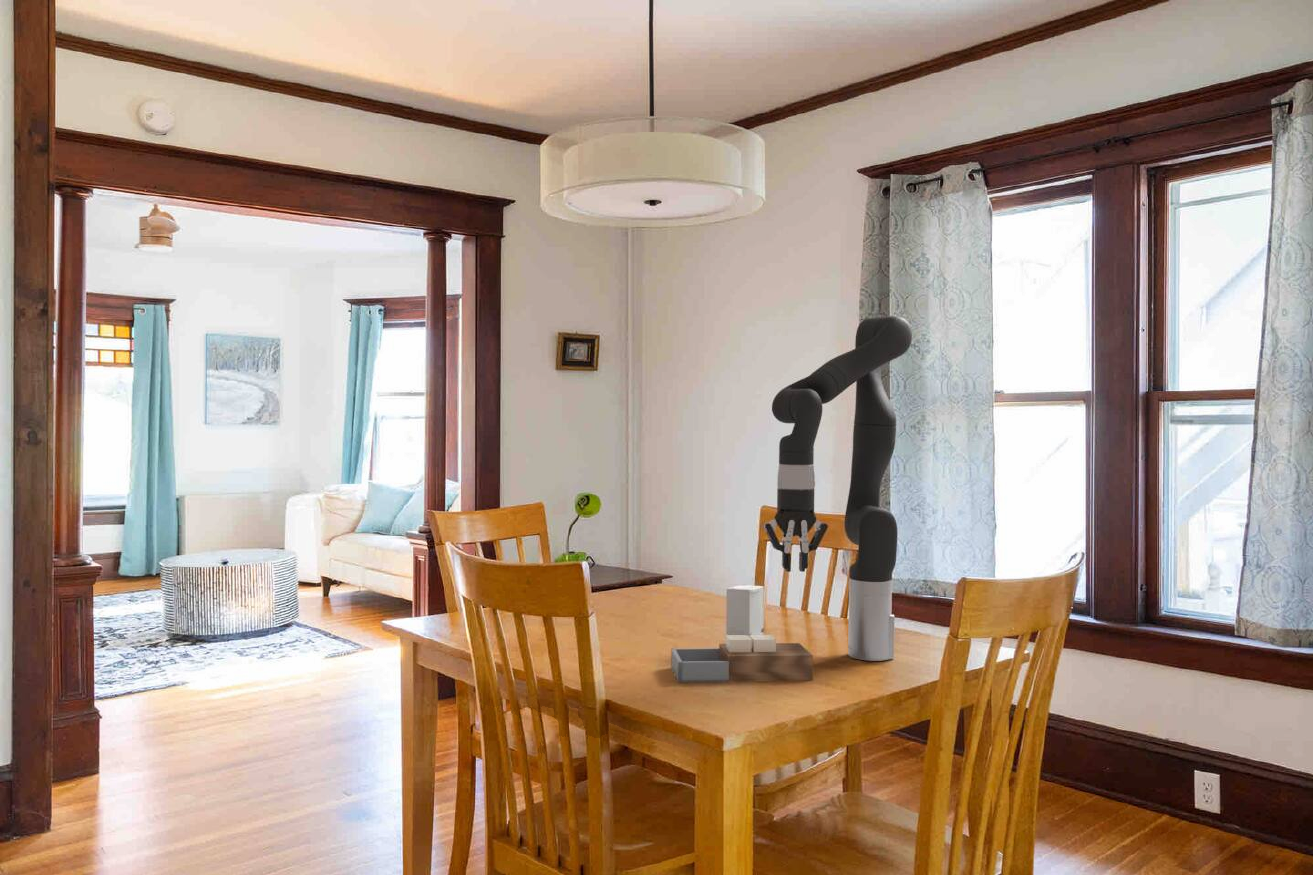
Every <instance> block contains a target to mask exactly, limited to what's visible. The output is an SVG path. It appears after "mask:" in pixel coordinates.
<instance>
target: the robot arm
mask: <svg viewBox="0 0 1313 875" xmlns="http://www.w3.org/2000/svg"><path fill="white" fill-rule="evenodd" d="M912 340H913V333H912V328H911V325H910V324H909V322H908V320H907V319H906V318H903V317H901V316H896V315H894V316H892V315H890V316H878V317H877V316H873V317H868V318H865V319H863V320H862V321H861V322H860V323H859V324H858V327H857V329H856V334H855V340H854V341H855V344H854V346H855V348H854V349H852V350H850V351H846V352H845V353H842V354H840V355H837V356H836V357H833V358H832V359H829V360H828V361H827V362H825V363H824V364H822V365H821V366H820V367H818V368H817V369H815V371H813V372H812V373H811V374H809V375H808V376H806V377H804V378H800V379H799V380H797V381H795V382H792V383H791V384H788V385H787V386H785V387H784V388H782V389H781V390H779V391H778V392H777V394H776V395H774V396H775V397H774V398H773V400H772V404H771V412H772V415H773V416H774V418H775V419H776V420H777V421H779V422H781V423H783V424H793V427H792V428H793V429H792V431H791V433H790V434H787V435H785V436H782V437H781V439H780V441H779V444H778V446H779V447H778V449H779V450H778V451H779V452H778V455H779V456H778V471H777V481H776V482H777V483H776V485H777V487H776V489H777V490H776V491H777V493H776V494H777V496H776V497H777V499H776V504H777V505H776V513H775V516H774V519H772V520H770V521H769V522H763V524H762V526H763V529H764V531H765V534H766V536H767V537H768V540H769V542H770V543H771V546H772V548H773V549H774V550H776V551H780V552H781V553H782V554H781V558H782V559H781V566H782V568H783V569H784V570H785V572H787V573H788V572H792V554H791V553H790V552H791V545H792V542H793V537H795V536H796V537H798V538H797V539H798V543H799V544H798V545H799V550H800V552H799V551H798V552H799V553H798V571H800V572H804V573H805V571H806V569H808V567H809V554H810V553H811V552H813V551H816V550H818V547H819V546H820V543H821V541H822V540H823V538H824V536H825V533H826V532H827V530H828V528H829V524H827V523H825V522H822V521H820V520H818V519H817V516H816V515H815V487H816V481H815V480H816V479H815V469H814V468H815V466H814V458H815V457H814V453H815V452H814V451H815V449H814V446H815V442H816V439H817V435H818V431H819V428H820V424H821V420H822V416H823V405H824V404H828V403H830V402H831V401H833V400H834V399H835V398H836V397H838V396H839V395H841V394H842V393H843V392H845V390H847V389H848V388H849V387H851V386H852V385H853V384H854V383H855V384H856V385H855V388H856V389H855V408H854V409H855V410H854V419H853V430H852V432H853V434H852V453H851V454H852V455H851V466H850V467H851V470H850V471H851V472H850V484H849V491H848V495H847V496H848V497H847V503H846V507H845V508H846V509H845V513H844V514H845V515H844V525H843V527H844V532H845V535H846V537H847V539H848V540H849V541H850V542H851V543H852V544H854V545H857V546H858V548H857V550H858V551H857V552H858V553H857V559H856V561H855V562H854V563H851V565H850V566H849V570H848V571H849V572H848V575H849V576H848V577H849V578H848V633H847V635H848V640H847V641H848V644H847V650H848V651H847V653H848V655H847V656H849V658H852V659H855V660H861V661H869V662H879V661H880V662H882V661H887V660H894V659H895V619H896V618H895V615H894V614H892V603H893V602H892V599H893V596H892V595H893V594H892V593H893V592H892V591H893V572H894V571H895V570H894V569H895V568H896V564H897V551H898V549H897V548H898V524H897V520H896V518H895V516H894V515H893V513H892V512H891V511H890V510H889V509H886V508H883V507H880V492H881V485H882V480H883V477H884V475H885V473H886V470H887V468H888V466H889V464H890V462H891V459H892V458H893V454H894V450H895V447H896V437H897V416H896V413H895V410H894V408H893V405H892V403H891V401H890V398H889V397H888V395H887V392H886V390H885V388H884V386H883V382H882V366H884V365H885V364H887V363H889V362H891V361H893V360H895V359H897V358H899V357H901V356H903V355H904V354H906V353H907V351H908V350H909V348H910V346H911V344H912ZM776 526H778V528H779V529H780V530H781V532H782V538H781V539H782V542H781V543H780V540H779V539H778V537H777V535H776V529H777V527H776ZM812 528H814V531H815V532H814V533H813V536H812V538H811V540H810V541H809V532H810V531H811V530H812Z"/></svg>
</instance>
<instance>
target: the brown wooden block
mask: <svg viewBox="0 0 1313 875" xmlns="http://www.w3.org/2000/svg"><path fill="white" fill-rule="evenodd" d="M718 646H719V647H718V648H719V661H729V682H731V683H732V682H785V681H787V682H790V681H792V682H794V681H796V682H797V681H798V682H799V681H813V669H814V668H813V667H814V666H813V662H814V661H813V660H814V659H813V658H814V656H813V654H812V653H811V652H810V651H809V650H808V649H806V648H805V647H804V646H803V645H802V644H801V643H799V642H793V643H792V642H784V643H783V642H782V643H781V642H778V643H777V642H776V652H753V651H752V649H751V652H729V651H728V650H727V649H726V643H719V645H718ZM729 682H728V683H729Z"/></svg>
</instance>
